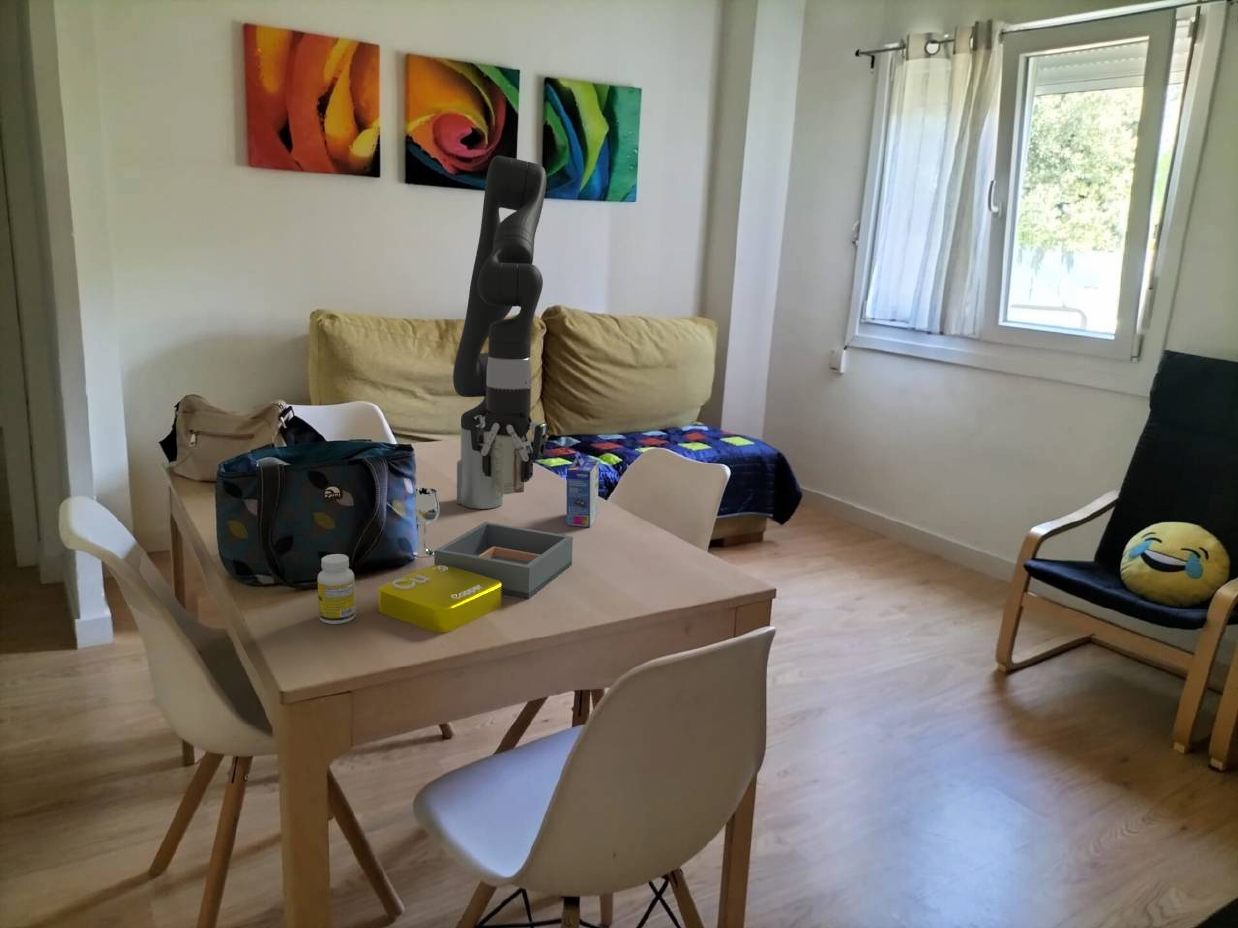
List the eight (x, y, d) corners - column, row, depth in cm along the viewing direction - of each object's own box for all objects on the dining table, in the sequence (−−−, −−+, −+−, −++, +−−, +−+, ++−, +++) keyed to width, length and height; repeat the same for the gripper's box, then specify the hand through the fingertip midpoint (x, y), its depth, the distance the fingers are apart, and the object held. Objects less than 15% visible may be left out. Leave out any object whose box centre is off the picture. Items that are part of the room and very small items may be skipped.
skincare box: (524, 492, 160) (526, 436, 158) (501, 495, 158) (502, 438, 155) (512, 485, 164) (513, 430, 162) (489, 487, 162) (490, 431, 160)
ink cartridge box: (573, 511, 202) (575, 447, 198) (598, 514, 201) (600, 449, 198) (564, 525, 192) (566, 458, 189) (590, 527, 192) (593, 460, 188)
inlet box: (434, 580, 160) (434, 550, 158) (484, 549, 176) (485, 521, 175) (528, 598, 154) (529, 567, 152) (571, 564, 170) (572, 536, 169)
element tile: (443, 637, 139) (443, 608, 138) (373, 612, 147) (372, 584, 145) (507, 606, 151) (507, 579, 150) (439, 585, 159) (438, 558, 158)
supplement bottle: (323, 610, 145) (321, 551, 143) (358, 610, 146) (357, 552, 143) (315, 625, 140) (313, 564, 138) (351, 625, 141) (350, 564, 138)
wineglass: (445, 551, 174) (445, 490, 171) (427, 560, 169) (427, 497, 166) (420, 545, 176) (420, 485, 173) (401, 554, 171) (401, 492, 168)
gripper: (460, 382, 156) (460, 478, 160) (537, 390, 151) (535, 489, 155) (481, 376, 162) (481, 468, 166) (556, 384, 158) (554, 479, 162)
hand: (507, 478), depth 161 cm, fingers closed on skincare box, 6 cm apart
